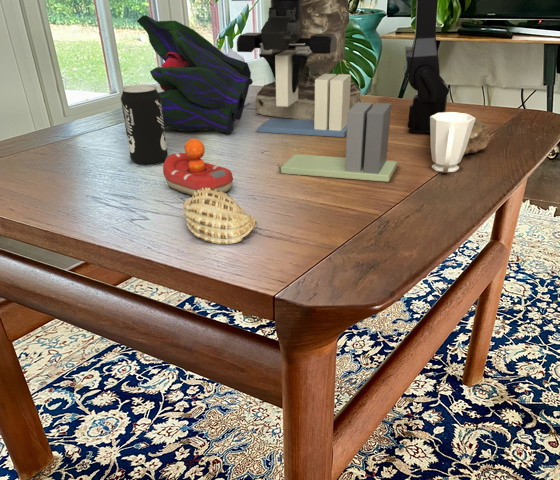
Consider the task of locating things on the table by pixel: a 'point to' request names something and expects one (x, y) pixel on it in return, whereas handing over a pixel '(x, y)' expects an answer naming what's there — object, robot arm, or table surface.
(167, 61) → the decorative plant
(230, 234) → the seashell
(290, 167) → the green base board
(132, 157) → the beverage can
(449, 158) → the cup
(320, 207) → the table surface
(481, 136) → the rock
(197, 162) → the toy boat
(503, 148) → the table surface
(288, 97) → the white box
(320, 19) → the sculpture
